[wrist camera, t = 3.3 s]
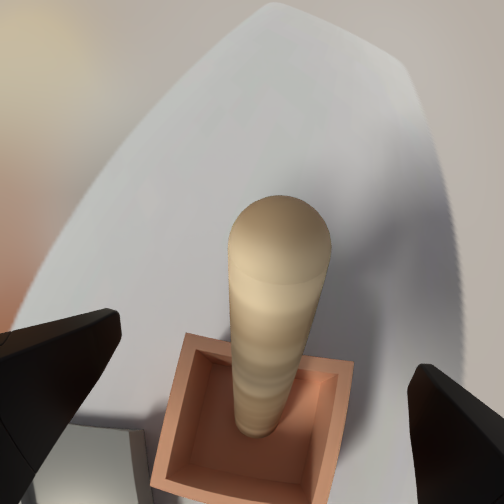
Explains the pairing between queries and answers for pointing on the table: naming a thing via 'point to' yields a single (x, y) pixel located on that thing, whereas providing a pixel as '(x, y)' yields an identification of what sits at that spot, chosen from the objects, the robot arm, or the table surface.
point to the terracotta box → (245, 448)
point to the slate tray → (93, 469)
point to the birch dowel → (272, 303)
